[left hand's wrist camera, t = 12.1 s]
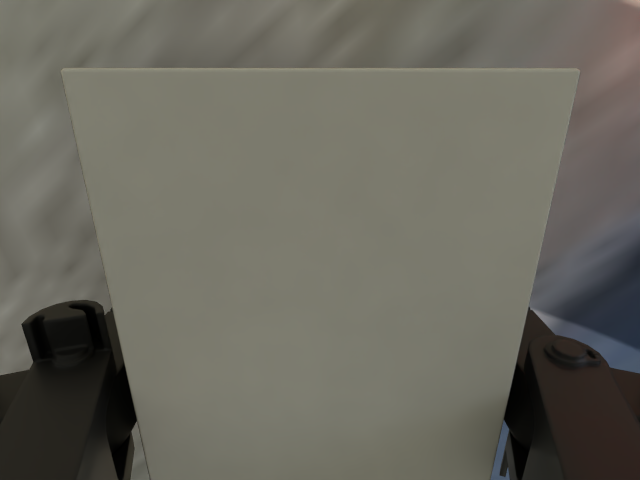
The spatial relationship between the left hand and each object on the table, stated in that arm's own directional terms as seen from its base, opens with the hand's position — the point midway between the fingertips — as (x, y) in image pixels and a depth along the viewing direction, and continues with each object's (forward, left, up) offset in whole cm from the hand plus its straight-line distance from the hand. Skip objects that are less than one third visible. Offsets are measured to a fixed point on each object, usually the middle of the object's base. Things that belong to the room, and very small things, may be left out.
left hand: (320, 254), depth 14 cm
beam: (+18, +31, -1) cm, 35 cm away
